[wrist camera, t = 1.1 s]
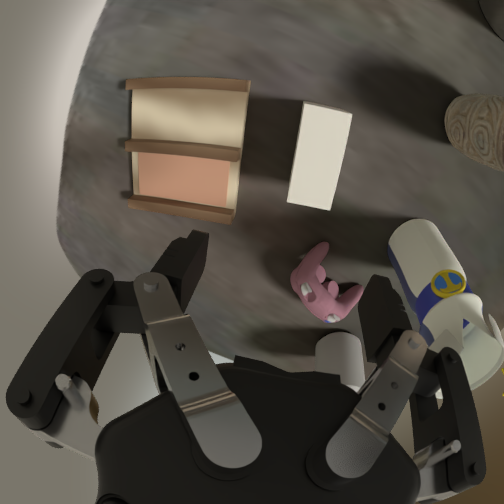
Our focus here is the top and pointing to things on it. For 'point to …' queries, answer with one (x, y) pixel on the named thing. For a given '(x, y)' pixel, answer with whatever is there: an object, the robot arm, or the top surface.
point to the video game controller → (322, 288)
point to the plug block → (318, 155)
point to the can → (341, 358)
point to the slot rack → (187, 145)
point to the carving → (478, 128)
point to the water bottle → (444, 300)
